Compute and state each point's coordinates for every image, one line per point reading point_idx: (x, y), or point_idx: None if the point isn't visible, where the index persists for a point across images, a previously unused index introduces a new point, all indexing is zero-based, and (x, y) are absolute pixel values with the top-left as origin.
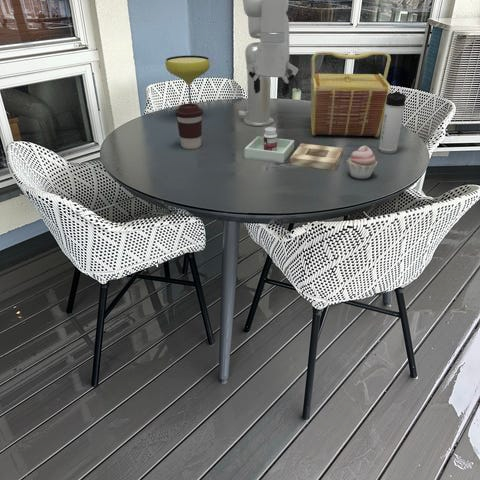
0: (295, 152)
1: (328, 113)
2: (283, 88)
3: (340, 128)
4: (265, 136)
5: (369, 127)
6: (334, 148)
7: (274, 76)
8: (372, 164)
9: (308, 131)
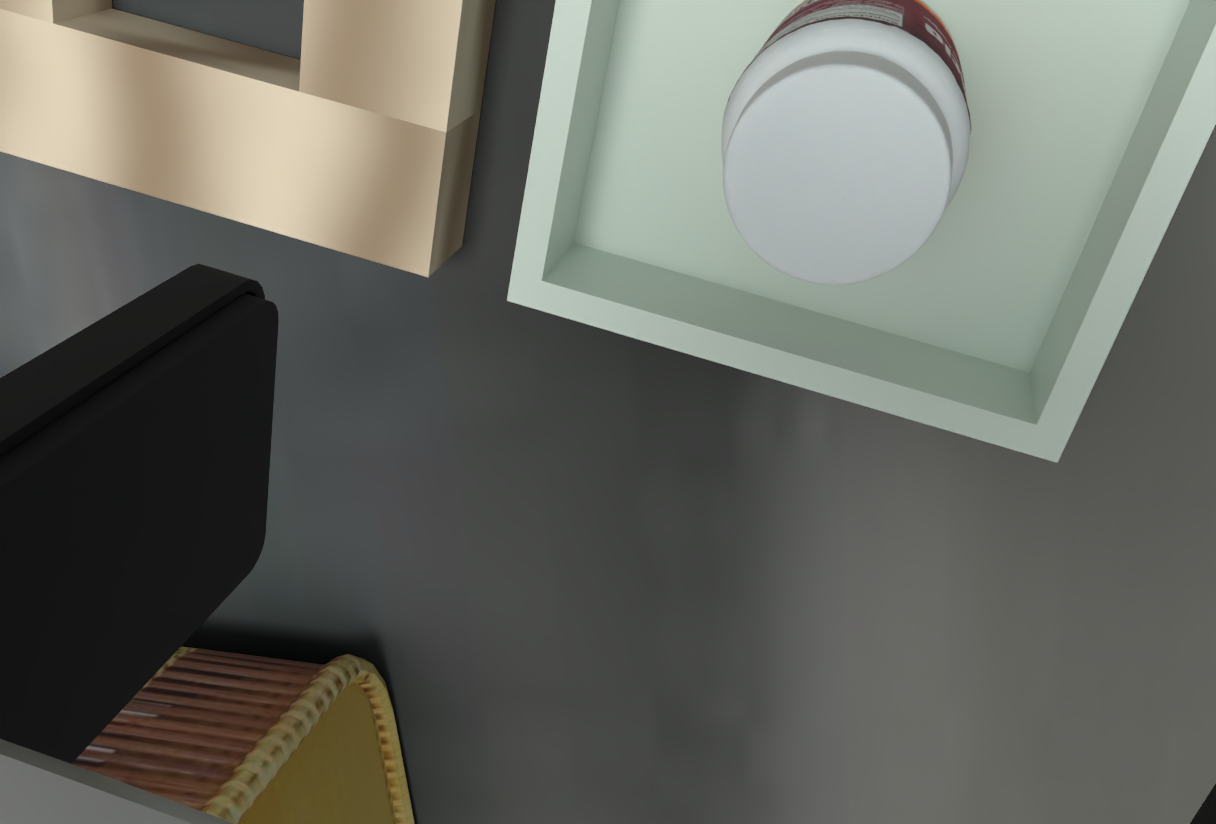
0: None
1: None
2: (109, 394)
3: None
4: (937, 63)
5: None
6: (18, 108)
7: (144, 807)
8: None
9: (447, 800)
